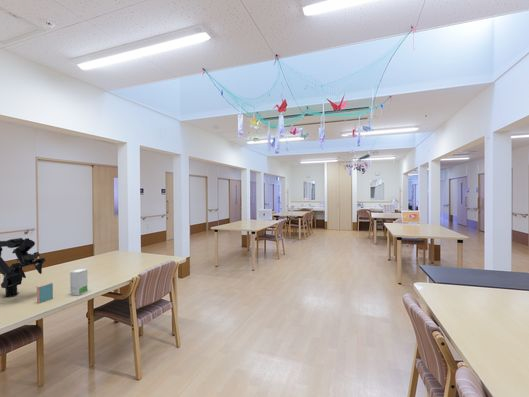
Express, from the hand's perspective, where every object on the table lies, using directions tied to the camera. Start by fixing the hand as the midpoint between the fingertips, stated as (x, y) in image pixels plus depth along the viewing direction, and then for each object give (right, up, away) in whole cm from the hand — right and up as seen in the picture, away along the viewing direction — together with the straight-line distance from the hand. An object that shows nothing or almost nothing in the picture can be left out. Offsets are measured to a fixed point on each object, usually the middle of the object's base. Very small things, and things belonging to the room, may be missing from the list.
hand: (33, 275), depth 173 cm
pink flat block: (+10, -15, -2) cm, 18 cm away
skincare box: (+22, -15, +10) cm, 29 cm away
